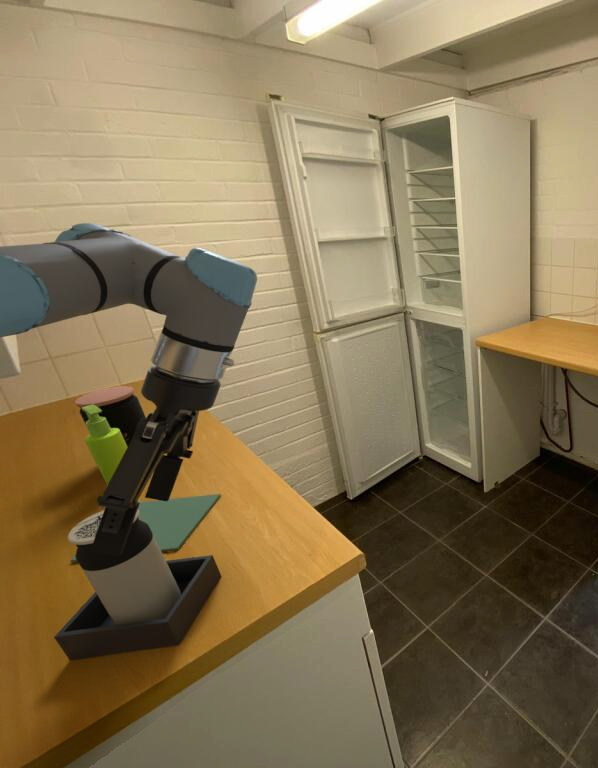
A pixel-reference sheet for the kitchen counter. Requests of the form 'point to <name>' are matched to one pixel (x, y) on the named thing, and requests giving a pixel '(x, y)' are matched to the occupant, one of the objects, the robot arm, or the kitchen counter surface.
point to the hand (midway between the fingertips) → (134, 522)
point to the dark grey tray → (102, 637)
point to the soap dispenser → (104, 442)
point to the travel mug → (127, 573)
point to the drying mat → (174, 519)
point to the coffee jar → (115, 408)
